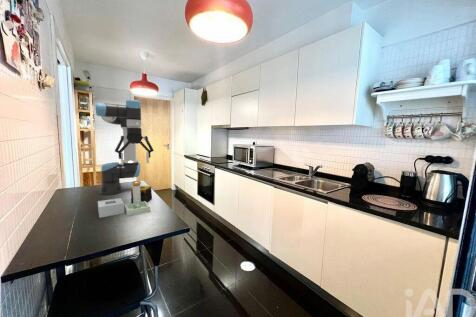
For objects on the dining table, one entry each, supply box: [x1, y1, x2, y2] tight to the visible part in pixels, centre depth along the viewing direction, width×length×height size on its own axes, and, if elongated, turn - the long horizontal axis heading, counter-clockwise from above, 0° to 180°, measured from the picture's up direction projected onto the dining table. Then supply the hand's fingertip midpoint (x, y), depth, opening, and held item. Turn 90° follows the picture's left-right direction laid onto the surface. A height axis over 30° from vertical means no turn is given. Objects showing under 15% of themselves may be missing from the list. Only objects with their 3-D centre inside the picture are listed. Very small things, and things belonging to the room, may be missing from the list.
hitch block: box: [97, 197, 125, 219], centre depth 118 cm, size 12×12×6 cm
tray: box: [124, 201, 151, 217], centre depth 122 cm, size 12×12×3 cm
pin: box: [131, 180, 142, 209], centre depth 121 cm, size 5×5×17 cm
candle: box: [130, 185, 153, 204], centre depth 138 cm, size 10×10×10 cm
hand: (135, 163), depth 119 cm, fingers open, 13 cm apart
